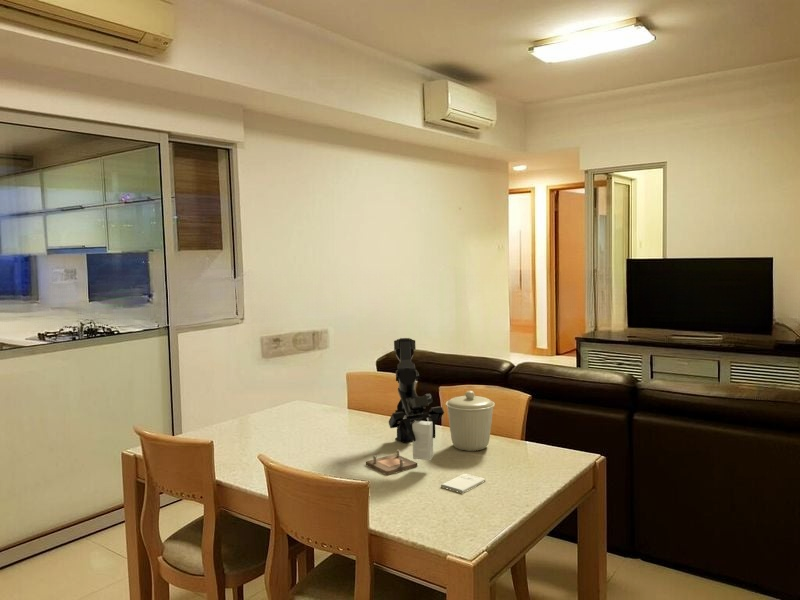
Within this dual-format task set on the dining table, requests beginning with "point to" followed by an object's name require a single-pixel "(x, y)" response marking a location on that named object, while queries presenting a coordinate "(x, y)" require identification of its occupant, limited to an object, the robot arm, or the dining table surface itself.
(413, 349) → the robot arm
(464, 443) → the canister
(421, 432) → the skincare box
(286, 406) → the dining table surface
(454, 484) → the external hard drive
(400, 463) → the pin nest board
